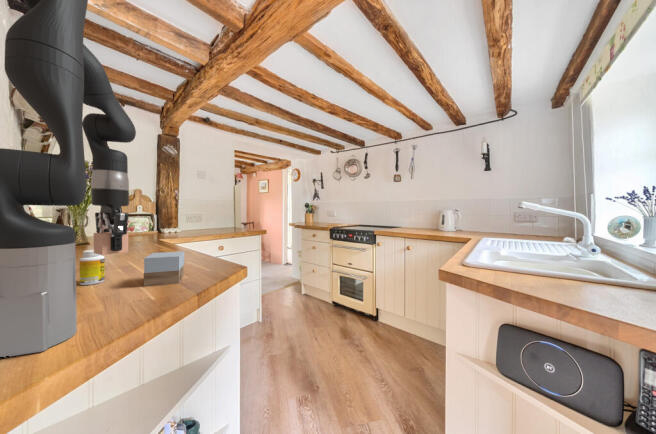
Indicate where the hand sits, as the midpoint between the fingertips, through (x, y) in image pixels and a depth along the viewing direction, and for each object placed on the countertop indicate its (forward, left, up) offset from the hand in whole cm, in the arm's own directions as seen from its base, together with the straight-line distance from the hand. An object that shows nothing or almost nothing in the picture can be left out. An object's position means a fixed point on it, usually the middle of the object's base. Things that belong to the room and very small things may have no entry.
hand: (111, 249), depth 64 cm
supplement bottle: (+13, +9, -12) cm, 20 cm away
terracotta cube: (0, 0, -1) cm, 1 cm away
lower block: (+8, -11, -12) cm, 18 cm away
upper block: (+8, -11, -8) cm, 16 cm away
